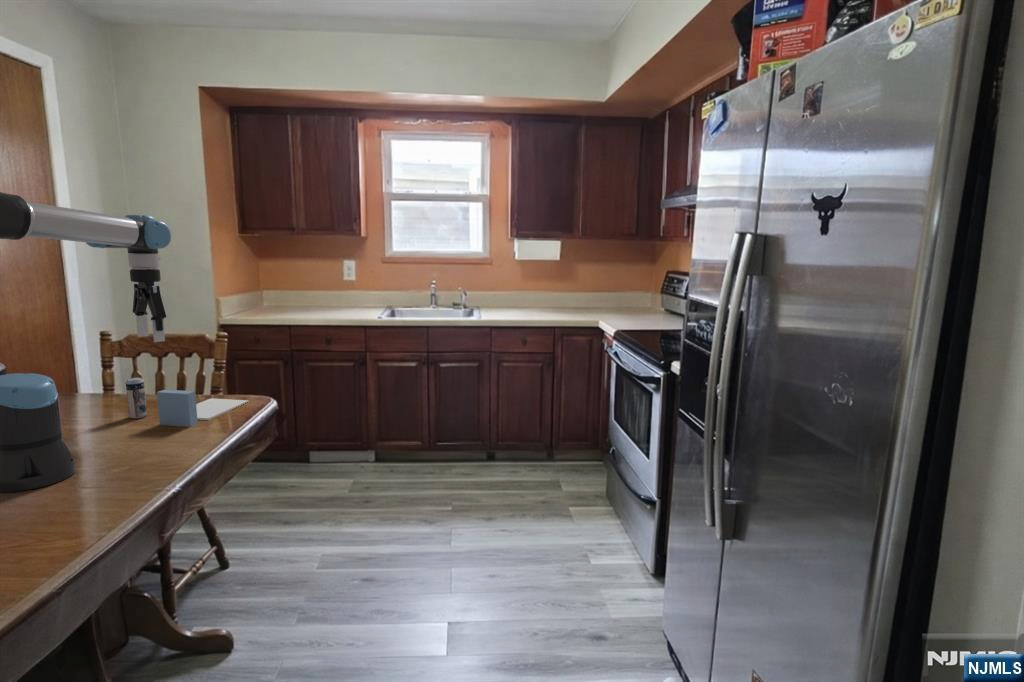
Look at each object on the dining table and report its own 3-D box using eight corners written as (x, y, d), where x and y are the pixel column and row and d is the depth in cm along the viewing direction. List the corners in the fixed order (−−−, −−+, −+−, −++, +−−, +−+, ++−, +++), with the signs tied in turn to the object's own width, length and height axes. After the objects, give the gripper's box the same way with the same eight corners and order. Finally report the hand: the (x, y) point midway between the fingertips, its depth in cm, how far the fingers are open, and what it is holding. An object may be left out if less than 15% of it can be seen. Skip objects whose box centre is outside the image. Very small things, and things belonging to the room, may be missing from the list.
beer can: (140, 419, 167) (136, 381, 165) (125, 419, 167) (121, 380, 165) (151, 414, 172) (147, 377, 170) (136, 414, 172) (132, 377, 170)
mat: (208, 420, 168) (208, 418, 167) (167, 417, 169) (167, 415, 169) (248, 402, 187) (248, 400, 187) (211, 400, 189) (210, 398, 189)
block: (190, 427, 161) (187, 393, 160) (159, 425, 163) (156, 392, 161) (197, 423, 164) (195, 391, 163) (167, 421, 166) (164, 389, 164)
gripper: (175, 269, 159) (181, 342, 162) (144, 266, 174) (150, 333, 178) (145, 270, 153) (152, 345, 156) (116, 267, 168) (123, 335, 172)
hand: (151, 339), depth 167 cm, fingers open, 13 cm apart
